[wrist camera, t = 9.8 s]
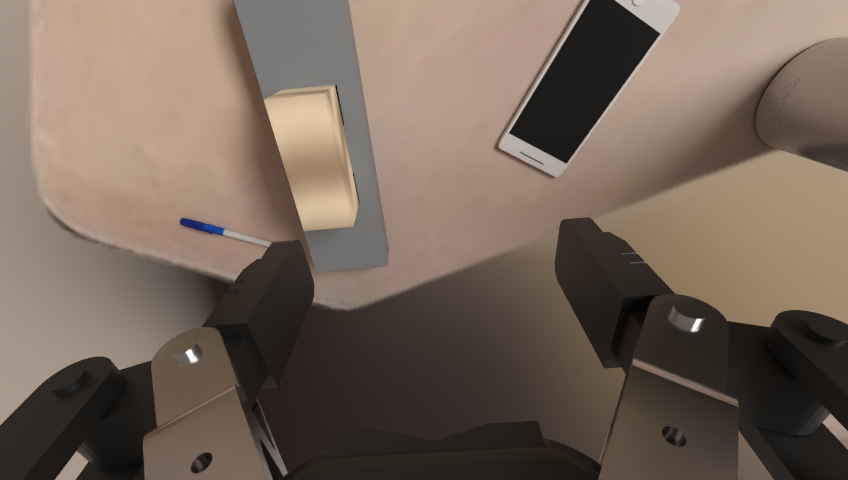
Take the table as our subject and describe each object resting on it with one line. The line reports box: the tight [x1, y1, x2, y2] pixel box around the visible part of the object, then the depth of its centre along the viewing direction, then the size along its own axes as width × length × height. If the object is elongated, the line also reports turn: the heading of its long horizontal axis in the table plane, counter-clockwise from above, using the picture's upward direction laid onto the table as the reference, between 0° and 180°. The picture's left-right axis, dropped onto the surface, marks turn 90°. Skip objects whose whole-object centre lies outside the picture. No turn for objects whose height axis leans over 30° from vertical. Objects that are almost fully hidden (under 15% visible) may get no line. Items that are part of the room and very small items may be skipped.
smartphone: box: [498, 0, 680, 177], centre depth 30 cm, size 7×15×1 cm, turn 153°
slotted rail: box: [233, 0, 388, 273], centre depth 30 cm, size 24×7×3 cm, turn 5°
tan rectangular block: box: [264, 85, 359, 231], centre depth 28 cm, size 10×4×7 cm, turn 5°
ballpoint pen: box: [180, 218, 273, 247], centre depth 36 cm, size 10×1×1 cm, turn 71°
